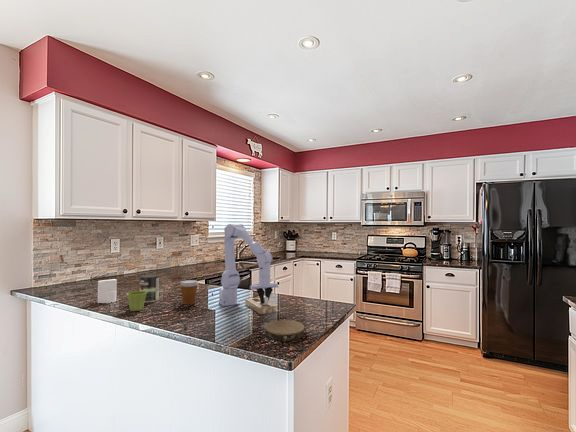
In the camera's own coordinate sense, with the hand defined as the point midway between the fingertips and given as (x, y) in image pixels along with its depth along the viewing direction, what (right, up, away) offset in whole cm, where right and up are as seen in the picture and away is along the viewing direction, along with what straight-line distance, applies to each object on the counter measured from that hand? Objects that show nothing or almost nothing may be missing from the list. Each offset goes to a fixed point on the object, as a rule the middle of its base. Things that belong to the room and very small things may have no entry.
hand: (264, 302), depth 152 cm
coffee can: (-68, -4, +19) cm, 71 cm away
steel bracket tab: (0, -4, 0) cm, 4 cm away
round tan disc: (+11, -3, -32) cm, 34 cm away
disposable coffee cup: (-43, -4, +14) cm, 45 cm away
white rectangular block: (-90, -4, +16) cm, 92 cm away
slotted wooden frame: (-2, -4, +4) cm, 6 cm away
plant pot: (-65, -4, 0) cm, 65 cm away
